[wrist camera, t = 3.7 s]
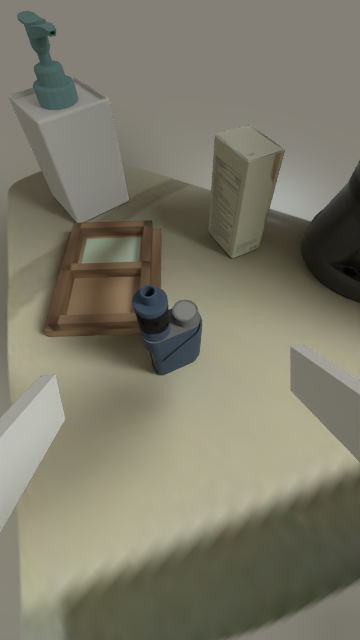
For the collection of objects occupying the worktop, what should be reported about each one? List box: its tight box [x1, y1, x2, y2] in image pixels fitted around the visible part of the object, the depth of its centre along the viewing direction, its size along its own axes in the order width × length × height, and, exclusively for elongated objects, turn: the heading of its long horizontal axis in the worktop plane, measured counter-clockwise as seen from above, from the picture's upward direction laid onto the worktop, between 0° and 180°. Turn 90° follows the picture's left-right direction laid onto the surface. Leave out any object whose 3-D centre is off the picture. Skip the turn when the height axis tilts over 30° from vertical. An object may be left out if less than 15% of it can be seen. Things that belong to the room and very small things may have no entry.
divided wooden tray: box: [44, 220, 161, 337], centre depth 32 cm, size 12×15×3 cm
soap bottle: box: [8, 11, 129, 223], centre depth 34 cm, size 9×9×19 cm
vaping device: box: [132, 285, 202, 375], centre depth 23 cm, size 3×5×12 cm, turn 114°
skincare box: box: [209, 125, 285, 258], centre depth 32 cm, size 6×4×12 cm
